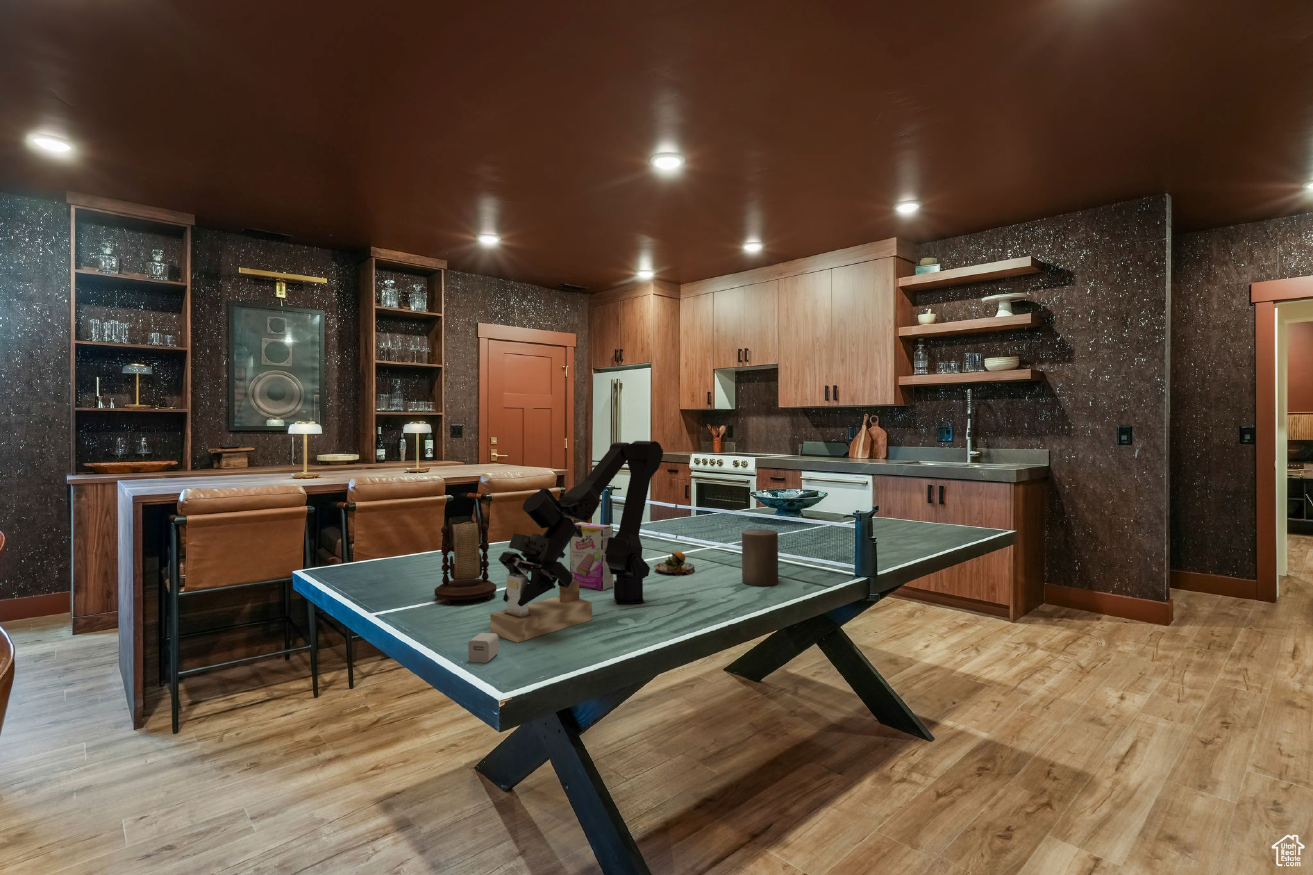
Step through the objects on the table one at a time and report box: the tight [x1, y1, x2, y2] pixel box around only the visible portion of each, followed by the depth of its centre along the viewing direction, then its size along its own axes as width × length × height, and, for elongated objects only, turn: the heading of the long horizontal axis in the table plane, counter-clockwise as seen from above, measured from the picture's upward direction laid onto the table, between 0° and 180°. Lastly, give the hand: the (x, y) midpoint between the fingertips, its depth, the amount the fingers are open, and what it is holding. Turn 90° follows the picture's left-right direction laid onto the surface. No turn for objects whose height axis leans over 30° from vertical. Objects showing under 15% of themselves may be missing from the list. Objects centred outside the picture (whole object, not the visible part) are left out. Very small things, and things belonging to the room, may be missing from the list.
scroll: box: [434, 516, 497, 606], centre depth 166 cm, size 15×15×20 cm
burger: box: [653, 546, 696, 577], centre depth 194 cm, size 12×12×8 cm
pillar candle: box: [741, 526, 779, 587], centre depth 180 cm, size 10×10×15 cm
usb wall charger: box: [467, 632, 500, 663], centre depth 126 cm, size 4×7×4 cm, turn 171°
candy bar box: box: [569, 521, 614, 592], centre depth 176 cm, size 11×5×16 cm, turn 58°
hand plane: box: [489, 580, 593, 644], centre depth 143 cm, size 20×9×8 cm, turn 138°
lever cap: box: [506, 573, 529, 619], centre depth 138 cm, size 2×4×12 cm, turn 48°
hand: (511, 603), depth 137 cm, fingers closed on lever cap, 4 cm apart
